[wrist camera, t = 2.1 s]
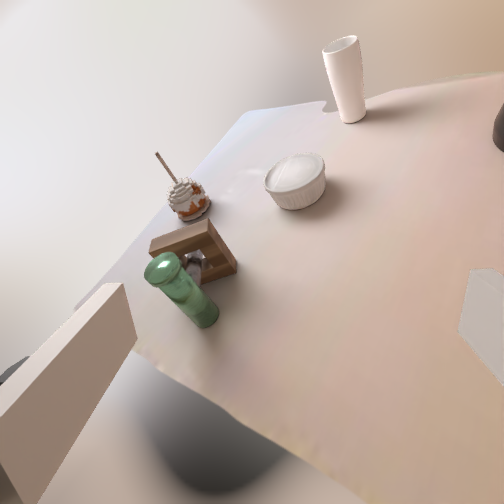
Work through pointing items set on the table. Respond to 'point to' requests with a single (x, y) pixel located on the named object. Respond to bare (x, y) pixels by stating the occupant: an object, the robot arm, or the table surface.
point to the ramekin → (296, 181)
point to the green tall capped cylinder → (183, 285)
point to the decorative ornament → (186, 196)
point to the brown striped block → (194, 239)
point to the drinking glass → (346, 77)
